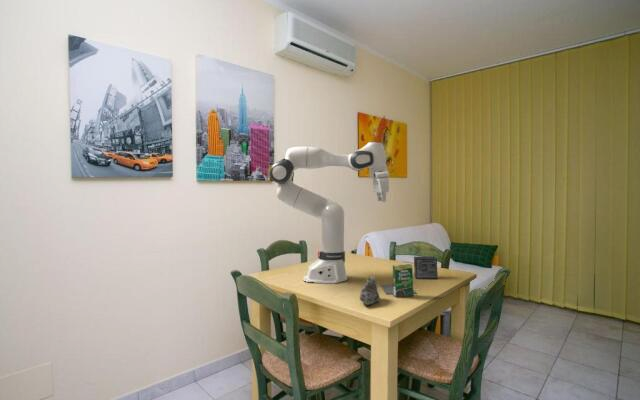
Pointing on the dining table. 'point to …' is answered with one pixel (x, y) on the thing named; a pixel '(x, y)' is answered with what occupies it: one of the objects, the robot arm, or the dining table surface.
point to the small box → (425, 267)
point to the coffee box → (402, 280)
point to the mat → (390, 289)
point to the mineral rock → (369, 292)
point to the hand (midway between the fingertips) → (381, 201)
